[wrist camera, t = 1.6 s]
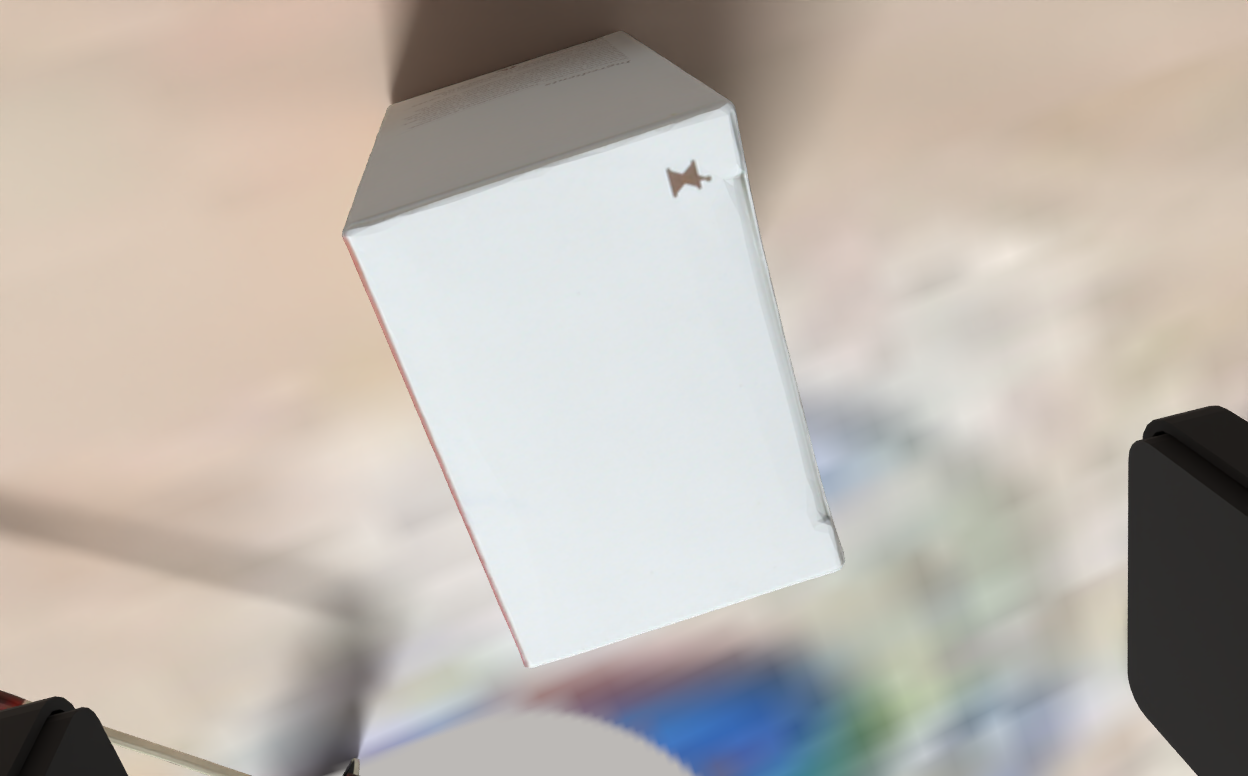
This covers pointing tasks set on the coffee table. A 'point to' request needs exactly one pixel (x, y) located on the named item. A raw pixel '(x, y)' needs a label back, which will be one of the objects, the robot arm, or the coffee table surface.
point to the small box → (593, 342)
